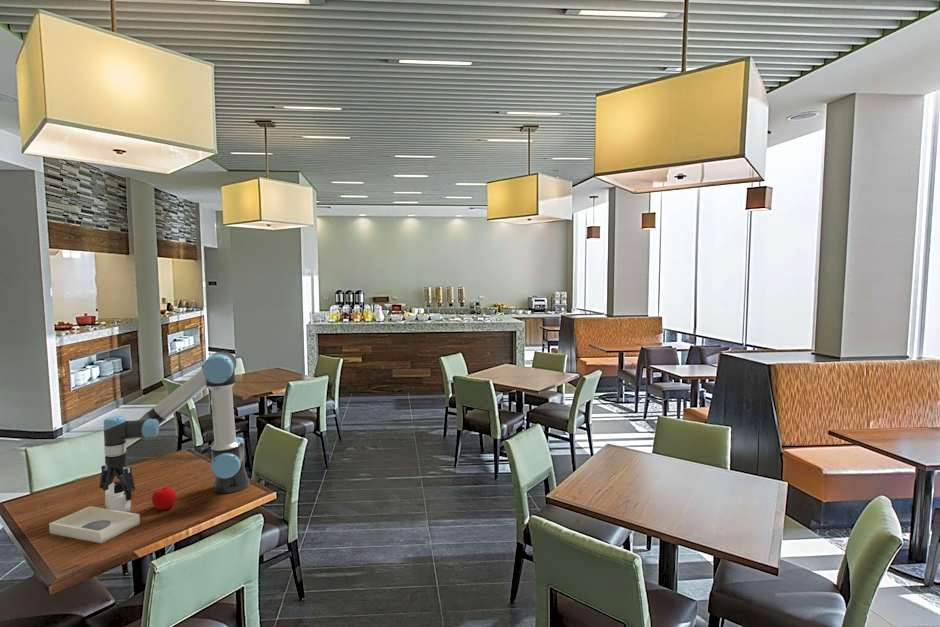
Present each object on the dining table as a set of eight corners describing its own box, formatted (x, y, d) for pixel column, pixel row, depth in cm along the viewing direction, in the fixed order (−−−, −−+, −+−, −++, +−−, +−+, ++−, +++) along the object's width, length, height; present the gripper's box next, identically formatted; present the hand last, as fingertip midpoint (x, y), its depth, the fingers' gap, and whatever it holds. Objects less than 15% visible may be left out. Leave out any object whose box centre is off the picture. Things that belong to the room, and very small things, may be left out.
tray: (139, 524, 208) (139, 514, 208) (101, 543, 193) (100, 532, 193) (90, 515, 216) (90, 506, 216) (49, 533, 201) (49, 523, 200)
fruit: (154, 505, 226) (153, 482, 225) (177, 501, 229) (177, 479, 228) (150, 514, 217) (149, 490, 216) (175, 510, 221) (174, 487, 220)
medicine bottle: (126, 505, 225) (125, 478, 224) (130, 511, 220) (129, 483, 219) (106, 511, 220) (105, 483, 219) (109, 516, 215) (108, 487, 214)
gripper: (144, 453, 219) (146, 505, 220) (104, 448, 225) (106, 499, 227) (128, 459, 212) (130, 513, 213) (87, 454, 218) (89, 506, 219)
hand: (118, 506), depth 220 cm, fingers closed on medicine bottle, 9 cm apart
